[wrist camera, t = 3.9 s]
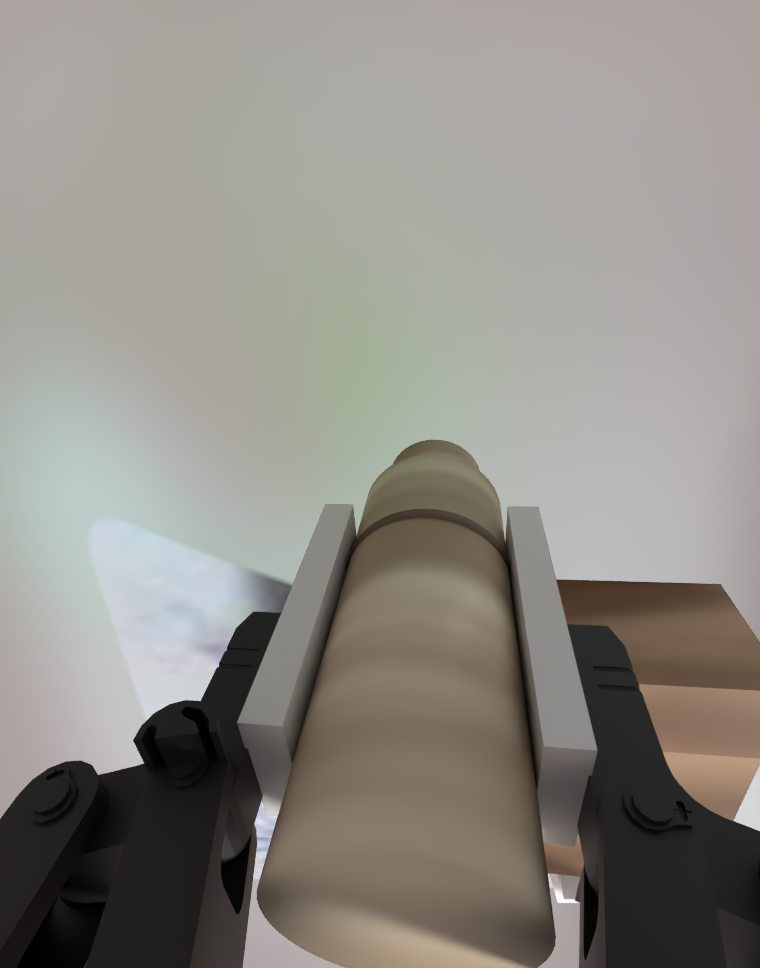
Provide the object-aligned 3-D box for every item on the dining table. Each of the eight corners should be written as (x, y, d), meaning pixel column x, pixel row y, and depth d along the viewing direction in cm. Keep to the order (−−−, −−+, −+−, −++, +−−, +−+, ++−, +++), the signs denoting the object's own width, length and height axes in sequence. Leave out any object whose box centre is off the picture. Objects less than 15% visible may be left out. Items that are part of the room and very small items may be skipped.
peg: (369, 424, 17) (224, 829, 6) (501, 423, 16) (578, 867, 6) (378, 530, 19) (279, 964, 8) (495, 532, 18) (544, 1003, 8)
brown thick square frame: (362, 574, 22) (340, 667, 18) (720, 584, 20) (793, 692, 16) (380, 751, 28) (367, 854, 23) (659, 772, 26) (700, 889, 22)
